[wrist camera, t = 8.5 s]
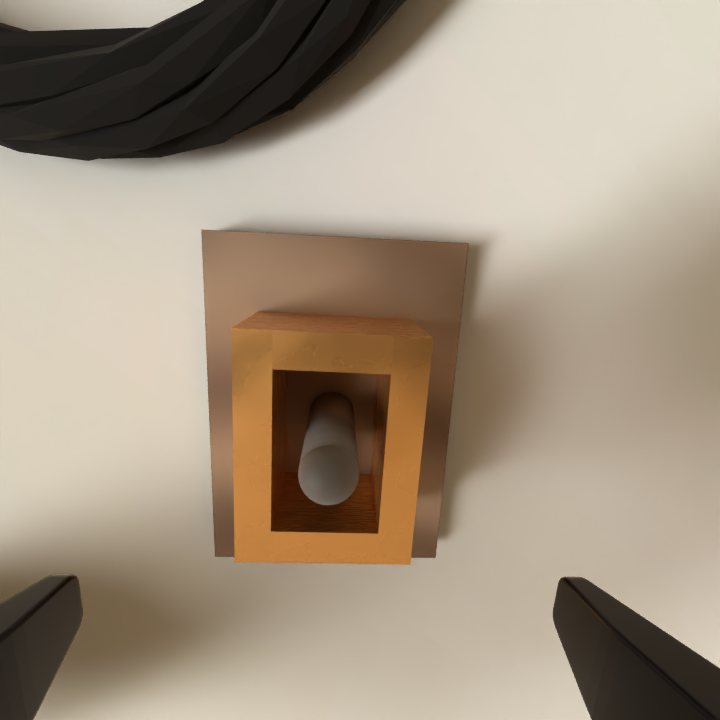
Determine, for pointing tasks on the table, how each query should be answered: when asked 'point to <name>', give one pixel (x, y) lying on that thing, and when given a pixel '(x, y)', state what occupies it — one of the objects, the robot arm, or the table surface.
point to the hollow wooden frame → (269, 437)
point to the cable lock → (174, 75)
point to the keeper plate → (331, 389)
